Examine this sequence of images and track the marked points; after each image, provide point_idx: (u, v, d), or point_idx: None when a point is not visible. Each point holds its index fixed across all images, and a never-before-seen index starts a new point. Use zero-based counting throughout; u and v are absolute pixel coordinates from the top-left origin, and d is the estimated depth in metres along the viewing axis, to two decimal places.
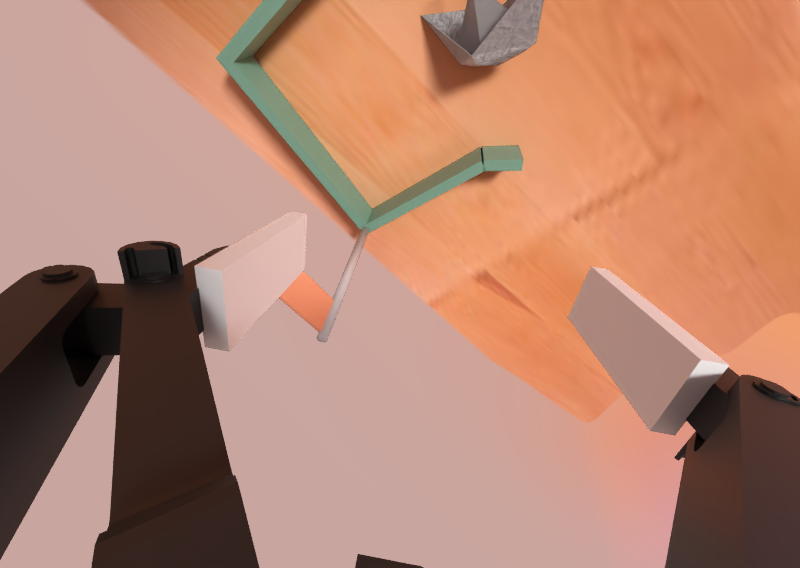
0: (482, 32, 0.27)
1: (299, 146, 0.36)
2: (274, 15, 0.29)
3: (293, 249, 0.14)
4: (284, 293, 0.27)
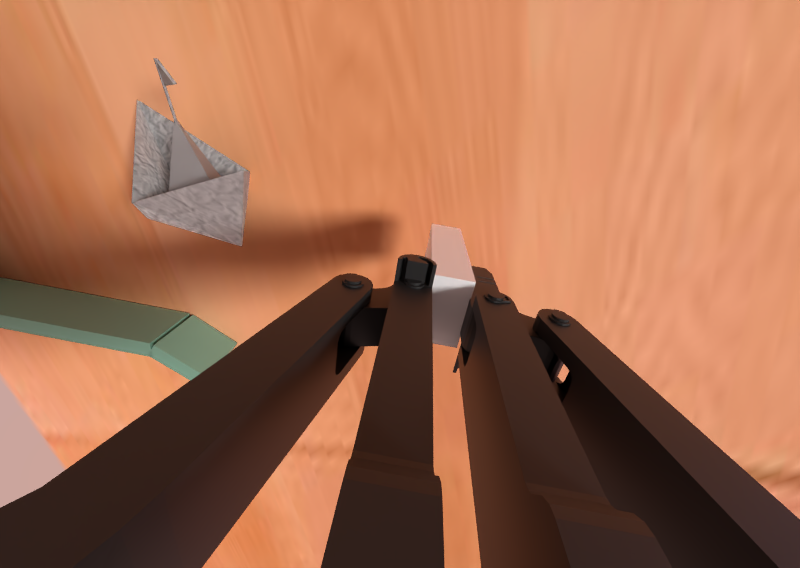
0: (174, 184, 0.17)
1: None
2: None
3: None
4: None
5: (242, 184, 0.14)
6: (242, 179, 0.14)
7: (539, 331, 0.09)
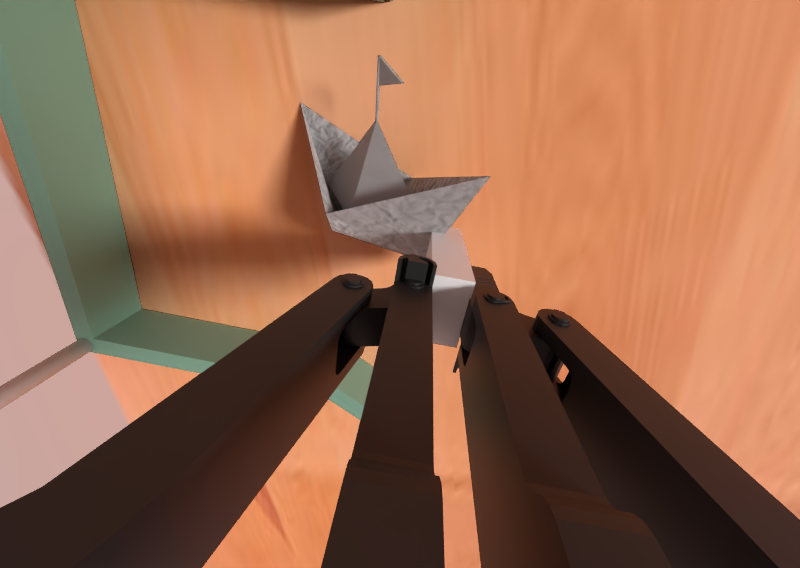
0: (361, 193, 0.16)
1: (28, 147, 0.16)
2: None
3: None
4: None
5: (476, 191, 0.13)
6: (481, 186, 0.13)
7: (539, 331, 0.09)
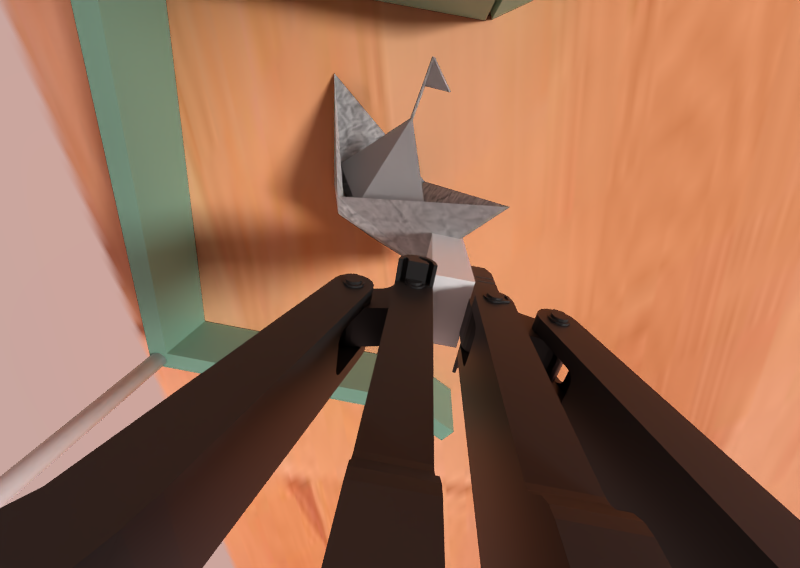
0: (376, 185, 0.16)
1: (125, 166, 0.16)
2: None
3: None
4: None
5: (491, 217, 0.13)
6: (498, 213, 0.13)
7: (538, 331, 0.09)
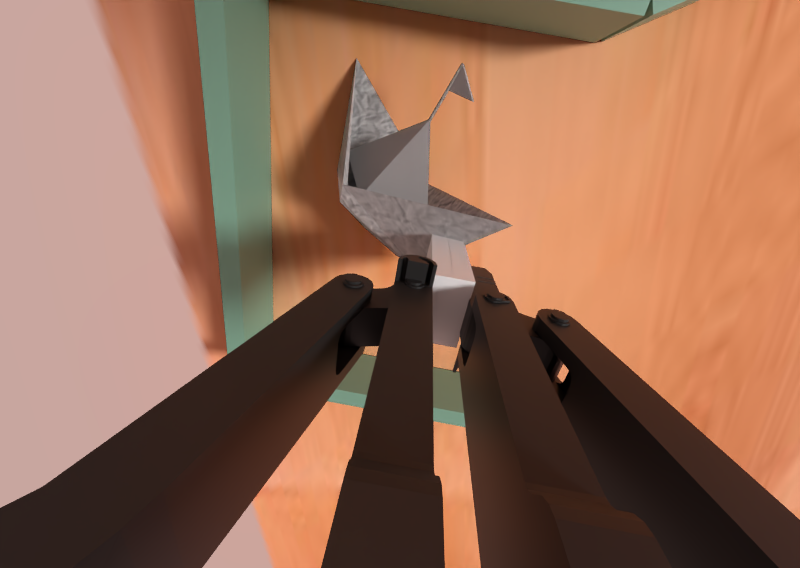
0: (383, 180, 0.15)
1: (230, 190, 0.16)
2: None
3: None
4: None
5: (492, 232, 0.14)
6: (499, 229, 0.13)
7: (539, 331, 0.09)
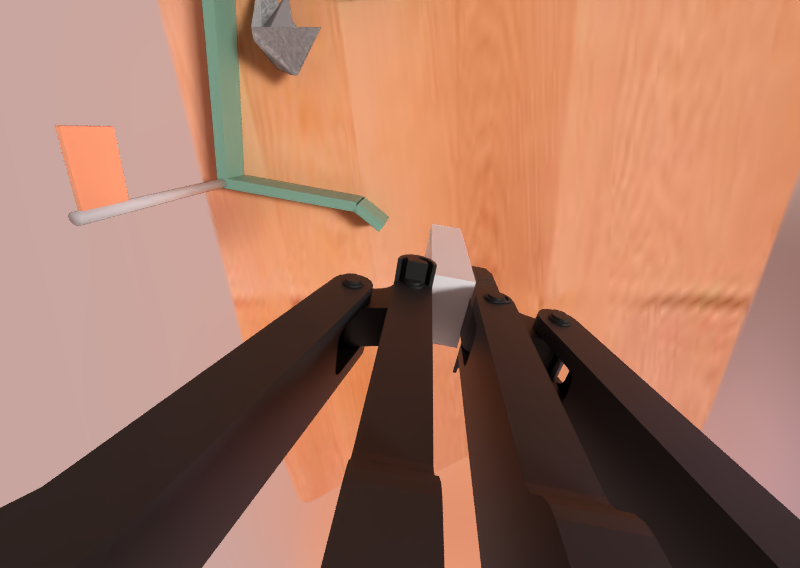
0: None
1: (215, 63, 0.34)
2: None
3: None
4: (70, 139, 0.22)
5: (316, 35, 0.30)
6: None
7: (539, 331, 0.09)
